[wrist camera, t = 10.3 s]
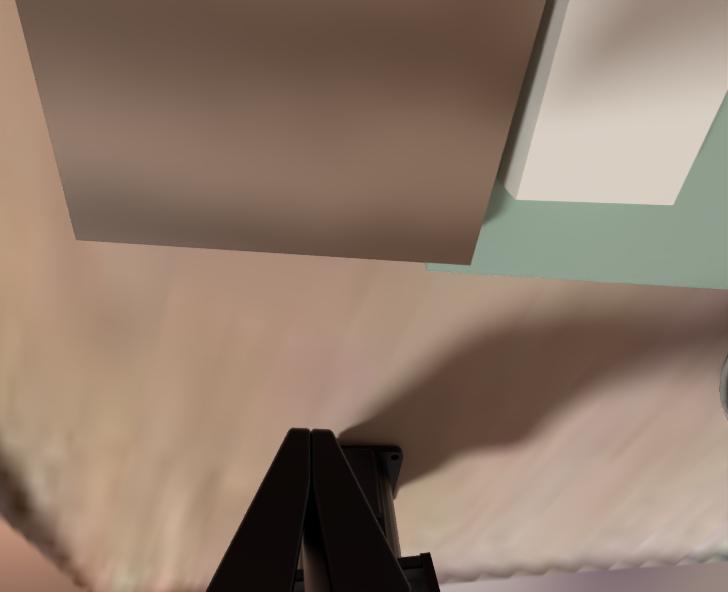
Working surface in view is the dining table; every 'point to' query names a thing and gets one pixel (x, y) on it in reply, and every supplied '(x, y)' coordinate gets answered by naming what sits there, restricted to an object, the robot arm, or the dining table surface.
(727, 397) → the ceramic mug
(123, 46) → the walnut deck
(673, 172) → the ivory tile
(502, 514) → the dining table surface
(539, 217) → the sage mat
